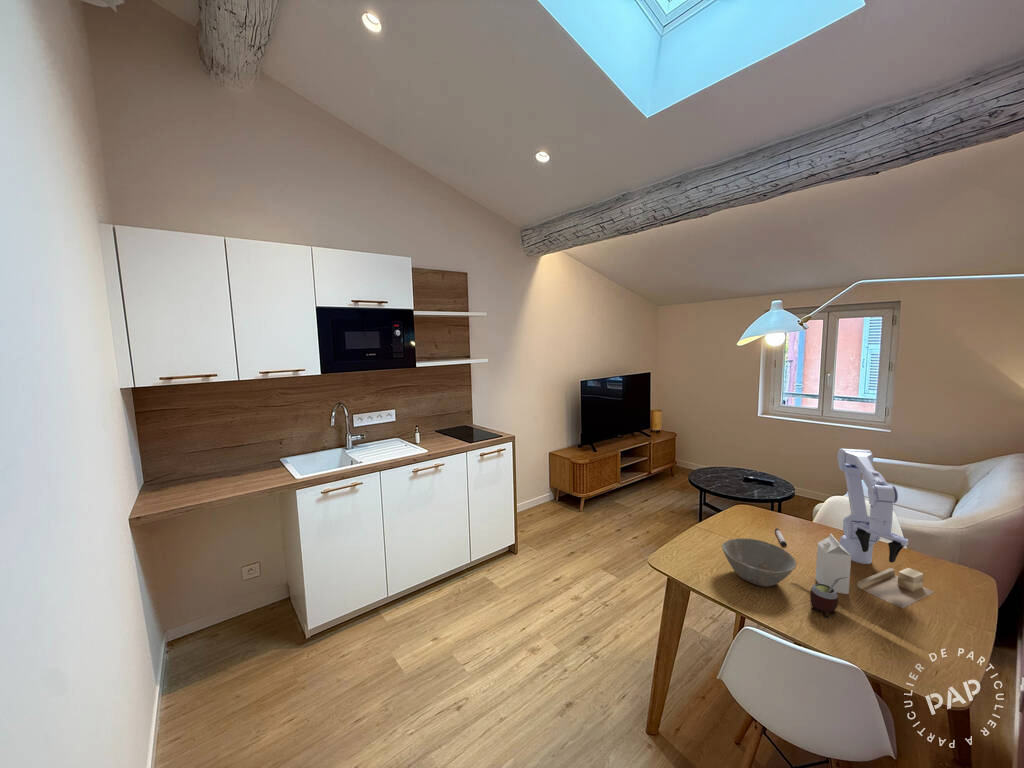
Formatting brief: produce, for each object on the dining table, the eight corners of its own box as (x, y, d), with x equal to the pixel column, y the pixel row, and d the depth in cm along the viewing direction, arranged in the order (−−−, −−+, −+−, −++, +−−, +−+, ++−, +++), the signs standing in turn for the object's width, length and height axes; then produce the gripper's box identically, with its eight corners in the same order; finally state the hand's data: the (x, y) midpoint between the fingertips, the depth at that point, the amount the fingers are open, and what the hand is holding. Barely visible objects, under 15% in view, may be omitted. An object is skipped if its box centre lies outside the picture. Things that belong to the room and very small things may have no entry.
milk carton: (839, 585, 140) (842, 534, 138) (848, 598, 134) (852, 544, 132) (815, 582, 143) (818, 532, 141) (823, 594, 136) (826, 541, 134)
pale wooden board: (856, 591, 137) (857, 581, 137) (889, 576, 145) (890, 567, 144) (901, 613, 126) (902, 602, 126) (934, 596, 134) (935, 586, 133)
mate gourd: (806, 602, 132) (809, 559, 131) (836, 607, 129) (838, 564, 128) (813, 616, 125) (816, 572, 124) (844, 623, 122) (847, 577, 121)
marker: (786, 547, 167) (787, 542, 167) (781, 546, 168) (781, 542, 167) (778, 531, 181) (778, 526, 181) (773, 530, 182) (773, 526, 181)
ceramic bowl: (722, 556, 161) (723, 533, 160) (791, 571, 149) (792, 546, 148) (719, 586, 142) (720, 560, 141) (798, 606, 130) (800, 578, 129)
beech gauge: (897, 585, 137) (898, 571, 137) (907, 580, 140) (908, 567, 139) (912, 591, 134) (913, 578, 133) (922, 587, 136) (923, 573, 135)
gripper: (849, 513, 143) (847, 549, 145) (901, 529, 130) (898, 569, 131) (861, 509, 146) (858, 545, 147) (912, 525, 133) (909, 564, 134)
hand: (878, 556), depth 140 cm, fingers open, 7 cm apart
